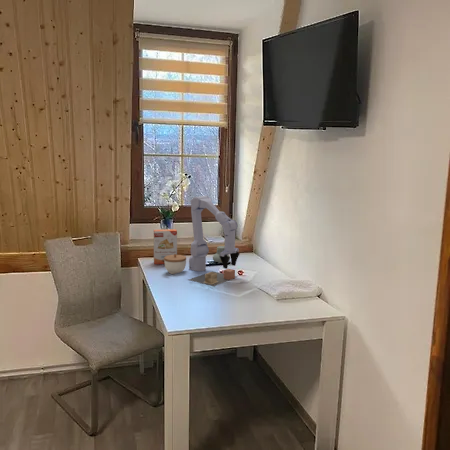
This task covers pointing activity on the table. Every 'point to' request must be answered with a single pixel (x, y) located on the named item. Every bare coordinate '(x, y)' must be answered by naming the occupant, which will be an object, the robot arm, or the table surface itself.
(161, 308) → the table surface
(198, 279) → the plate
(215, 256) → the air freshener
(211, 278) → the maple block
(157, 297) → the table surface
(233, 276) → the terracotta block
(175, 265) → the lidded bowl
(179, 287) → the table surface
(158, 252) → the cracker box
